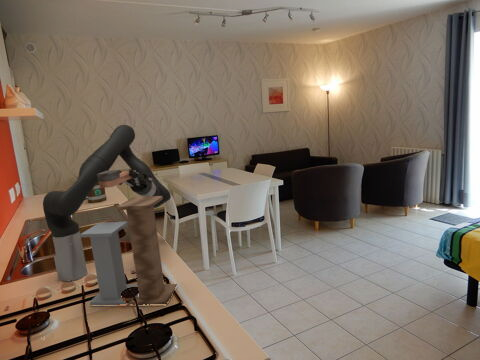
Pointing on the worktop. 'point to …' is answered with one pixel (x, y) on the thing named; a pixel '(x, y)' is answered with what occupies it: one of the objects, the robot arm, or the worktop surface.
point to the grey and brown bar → (112, 178)
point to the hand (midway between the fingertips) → (123, 172)
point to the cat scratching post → (146, 251)
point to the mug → (96, 195)
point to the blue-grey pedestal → (108, 262)
